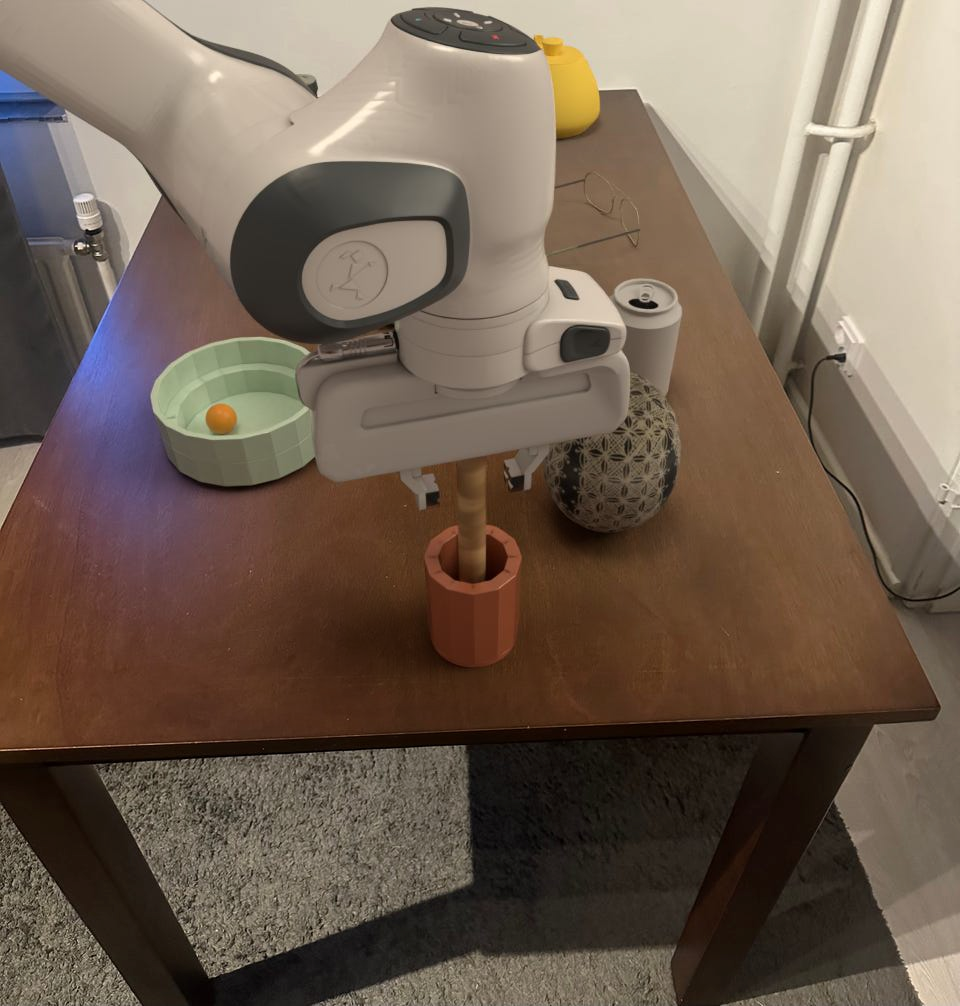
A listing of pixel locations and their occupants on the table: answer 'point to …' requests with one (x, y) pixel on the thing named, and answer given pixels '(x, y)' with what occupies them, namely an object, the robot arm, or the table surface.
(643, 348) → the can
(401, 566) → the table surface
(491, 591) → the utensil pot
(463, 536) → the stirring stick
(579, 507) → the decorative egg
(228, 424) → the bead
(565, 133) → the teapot
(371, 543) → the table surface
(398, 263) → the robot arm
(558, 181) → the table surface
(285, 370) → the bowl
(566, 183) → the eyeglasses
